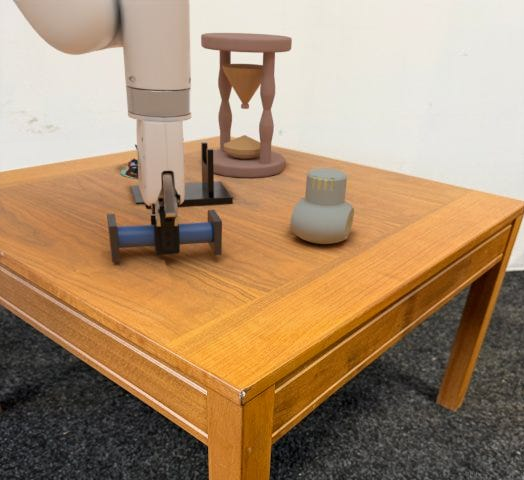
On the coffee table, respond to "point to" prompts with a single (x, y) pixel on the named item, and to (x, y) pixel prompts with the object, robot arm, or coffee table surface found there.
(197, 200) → the holder
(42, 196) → the coffee table surface
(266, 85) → the hourglass
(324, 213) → the air freshener
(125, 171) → the dish
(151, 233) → the handle
